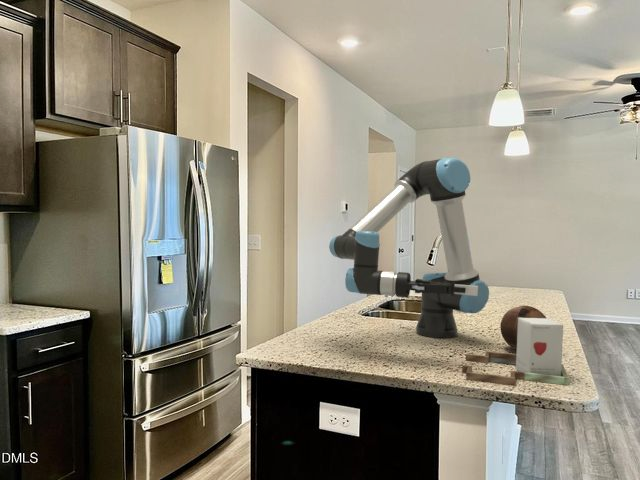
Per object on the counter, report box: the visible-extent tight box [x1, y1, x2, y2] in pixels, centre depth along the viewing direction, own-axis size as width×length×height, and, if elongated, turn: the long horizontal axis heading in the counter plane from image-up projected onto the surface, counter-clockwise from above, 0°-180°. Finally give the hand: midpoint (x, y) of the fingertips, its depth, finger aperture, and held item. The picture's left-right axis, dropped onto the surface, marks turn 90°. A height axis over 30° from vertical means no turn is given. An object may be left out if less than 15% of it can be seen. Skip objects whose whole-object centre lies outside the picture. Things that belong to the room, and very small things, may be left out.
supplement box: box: [515, 317, 564, 376], centre depth 135 cm, size 9×9×15 cm
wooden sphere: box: [500, 305, 547, 351], centre depth 160 cm, size 15×15×15 cm
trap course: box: [461, 351, 570, 386], centre depth 137 cm, size 26×26×2 cm
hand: (477, 290), depth 141 cm, fingers closed
